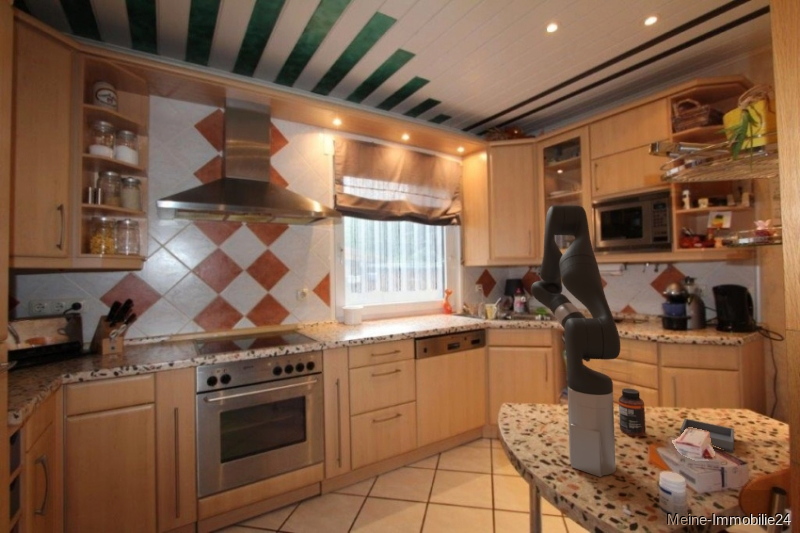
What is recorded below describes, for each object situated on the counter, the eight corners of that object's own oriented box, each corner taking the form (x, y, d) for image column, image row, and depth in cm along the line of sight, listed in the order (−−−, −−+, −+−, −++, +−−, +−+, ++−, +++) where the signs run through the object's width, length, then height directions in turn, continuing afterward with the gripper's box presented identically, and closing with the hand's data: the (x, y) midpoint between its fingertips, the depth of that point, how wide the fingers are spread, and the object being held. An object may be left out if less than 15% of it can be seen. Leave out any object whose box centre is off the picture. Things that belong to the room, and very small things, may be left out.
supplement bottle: (637, 427, 99) (636, 387, 99) (650, 437, 93) (649, 394, 93) (615, 427, 100) (614, 386, 100) (626, 437, 94) (625, 394, 94)
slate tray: (733, 452, 85) (733, 442, 85) (680, 439, 92) (680, 430, 92) (734, 438, 92) (733, 428, 92) (685, 427, 99) (684, 418, 99)
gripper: (553, 315, 115) (582, 353, 101) (594, 307, 116) (628, 343, 103) (549, 331, 119) (577, 370, 106) (589, 323, 120) (621, 360, 107)
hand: (602, 357), depth 104 cm, fingers open, 8 cm apart
